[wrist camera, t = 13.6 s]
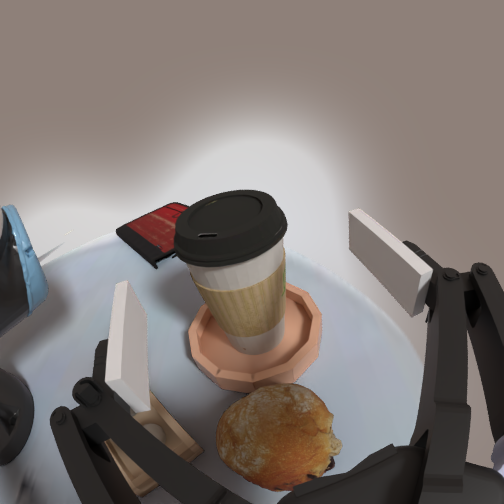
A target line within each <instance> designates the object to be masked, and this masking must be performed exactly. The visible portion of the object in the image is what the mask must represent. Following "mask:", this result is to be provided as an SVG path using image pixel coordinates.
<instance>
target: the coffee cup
mask: <svg viewBox="0 0 504 504" xmlns="http://www.w3.org/2000/svg"><path fill="white" fill-rule="evenodd" d="M286 231H287V220H286V217H285V214H284V213H283V211H282V210H281V209H280V207H278V206H277V204H276V202H275V200H274V199H273V198H272V196H270V195H269V194H267V193H264V192H261V191H256V190H236V191H228V192H223V193H219V194H216V195H213V196H210V197H207V198H205V199H202V200H200V201H198V202H196V203H195V204H193V205H191V206H190V207H188V208H187V209H185V210H184V211H183V212H182V213H181V214H180V216H179V217H178V218H177V220H176V223H175V235H174V251H175V253H176V255H177V257H178V258H179V259H180V260H182V261H183V262H185V263H186V264H187V266H188V268H189V270H190V275H191V277H192V279H193V281H194V283H195V285H196V287H197V288H198V290H199V292H200V294H201V296H202V297H203V299H204V301H205V303H206V304H207V306H208V308H209V310H210V311H211V313H212V315H213V316H214V318H215V320H216V322H217V323H218V325H219V327H220V328H221V329H222V330H223V331H224V332H225V334H226V336H227V337H228V339H229V341H230V343H231V344H232V346H233V347H234V348H235V349H236V350H237V351H239V352H241V353H243V354H248V355H259V354H263V353H266V352H269V351H271V350H272V349H274V348H275V347H276V346H277V345H278V344H279V343H280V342H281V341H282V339H283V336H284V332H285V309H286V273H285V250H284V247H283V237H284V235H285V233H286Z"/></svg>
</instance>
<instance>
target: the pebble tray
mask: <svg viewBox="0 0 504 504" xmlns="http://www.w3.org/2000/svg"><path fill="white" fill-rule="evenodd" d="M149 396H150V409H151V410H149V411H144V412H139V413H135V412H134V411H133V410H132V409H131V408H130V414H131V416H132V417H133V418H134V419H135V420H136V421H138V422H139V423H140V424H141V425H142V426H143V427H144V428H146V429H147V430H148V431H149V432H150V433H151V434H153V435H154V436H155V437H156V438H157V439H159V440H160V441H161V442H162V443H163V444H165V445H166V446H167V447H168V448H170V449H171V450H172V451H174V452H175V453H176V454H177V455H179V456H180V457H181V458H183V459H184V460H185V461H187V462H188V463H190V462H191V461H192V460H194V459H195V458H196V457H197V456H199V455H200V454H201V453H202V452H203V451H204V450H203V449H202V448H201V447H200V446H199V445H198V444H197V443H196V442H195V441H194V440H193V438H192V437H191V436H190V435H189V434H188V433H187V432H186V431H185V430H184V429H183V428H182V427H181V426H180V425H179V423H178V422H177V421H176V420H175V419H174V418H173V417H172V416H171V414H170V413H169V412H168V411H167V410H166V409H165V408H164V406H163V405H162V404H161V403H160V402H159V400H158V399H157V398H156V397H155V396H154V394H153V393H152V392H151V391H150V390H149ZM104 442H105V444H106V446H107V447H108V449H109V451H110V453H111V455H112V457H113V458H114V460H115V462H116V464H117V466H118V467H119V469H120V471H121V472H122V474H123V476H124V477H125V479H126V481H127V482H128V484H129V486H130V487H131V489H132V490H133V492H134V493H135V495H138V496H140V497H144V496H145V495H147V494H148V493H149V492H151V491H152V490H154V489H155V488H157V487H158V486H159V484H158V483H157V482H155V481H154V480H153V479H152V478H151V477H150V476H149V475H148V474H146V473H145V472H144V471H143V470H142V469H141V468H140V467H139V466H138V465H137V464H136V463H135V462H134V461H132V460H131V459H130V458H129V457H128V456H127V455H126V454H125V453H124V452H123V451H122V450H121V449H120V448H119V447H118V446H117V445H116V444H115V442H114V441H113V440H112V439H111V438H110V439H108V440H106V441H104Z"/></svg>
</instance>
